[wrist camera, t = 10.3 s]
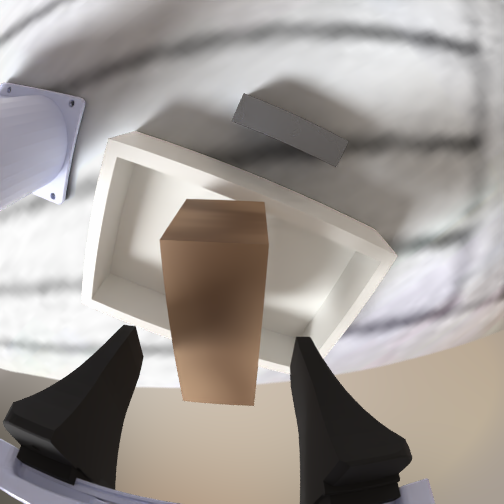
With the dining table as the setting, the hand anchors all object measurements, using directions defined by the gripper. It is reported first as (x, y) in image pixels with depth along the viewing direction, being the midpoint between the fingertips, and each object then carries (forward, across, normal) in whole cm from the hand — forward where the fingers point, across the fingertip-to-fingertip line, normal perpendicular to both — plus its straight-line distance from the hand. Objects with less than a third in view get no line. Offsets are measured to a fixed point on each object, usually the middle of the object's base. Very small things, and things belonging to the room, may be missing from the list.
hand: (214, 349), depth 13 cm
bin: (+9, 0, 0) cm, 9 cm away
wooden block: (+5, 0, 0) cm, 5 cm away
